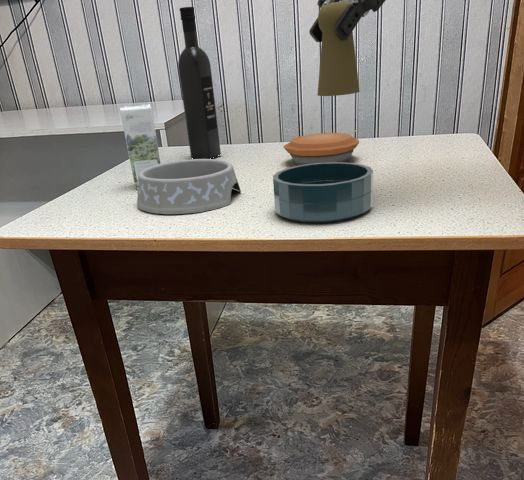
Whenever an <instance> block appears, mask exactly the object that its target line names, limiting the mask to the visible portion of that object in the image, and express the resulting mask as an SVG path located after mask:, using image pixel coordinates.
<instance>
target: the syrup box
mask: <svg viewBox="0 0 524 480" xmlns="http://www.w3.org/2000/svg"><path fill="white" fill-rule="evenodd" d="M152 109H153V108H152V106H151V104H150V103H142V104H135V105H134V104H133V105H125V106H120V107H119V113H120V118H121V123H122V128H123V133H124V138H125V143H126V148H127V153H128V158H129V165H130V168H131V173H132V178H133V183H134V188H136V189H137V188H138V175H139V173H140V172H141V171H142V170H144V169H146V168H149V167H151V166H155V165H158V164H162V162H161V157H160V150H159V145H158V138H157V133H156V126H155V120H154V114H153V110H152ZM136 189H135V190H136ZM137 190H138V189H137Z"/></svg>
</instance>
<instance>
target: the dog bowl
mask: <svg viewBox="0 0 524 480" xmlns="http://www.w3.org/2000/svg"><path fill="white" fill-rule="evenodd" d="M233 165H234V164H232V163H231V162H229V161H226V160H224V159H223V160H222V159H216V158H213V159H192V158H191V159H190V158H189V159H182V160H173V161H168V162H167V161H166V162H163V163H161V164H158V165H155V166H151V167H149V168H146V169H144V170H142V171H141V172H140V173H139V175H138V189H137V196H136V197H137V198H136V199H137V200H136V206H137V208H138V209H139V210H140V211H143V212H146V213H151V214H157V215H158V214H159V215H183V214H196V213H202V212H206V211H207V212H208V211H213V210H217V209H220V208H223V207H227V206H229V205H231V202H232V201H231V200H232V191H233V190H236V191H238V192H240V193H242V190H241V188H240V187H241V186H240V184H239V181H238V178H237V175H236V172H235V168H234V166H233Z"/></svg>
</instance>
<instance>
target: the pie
mask: <svg viewBox="0 0 524 480" xmlns="http://www.w3.org/2000/svg"><path fill="white" fill-rule="evenodd" d="M359 144H360V140H359V139H358V138H356V137H353V135H351V134H350V133H349V134H348V133H342V132H322V133H321V132H319V133H312V134H311V133H310V134H305V135H300V136H296V137H293V138H292V139H291V140H290V142H288V143H286V144H284V145H283V150H285V151H286V152H287V153H288V154H289V156H290V157H291V158H292V160H293V161H294V164H296V166H299V165H305V164H312V163H324V162H325V163H326V162H345V163H347V162H348V161H349V160H350V158H351V156H352V155H353V153H354V150H355V149H356V148H357V146H359Z"/></svg>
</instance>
